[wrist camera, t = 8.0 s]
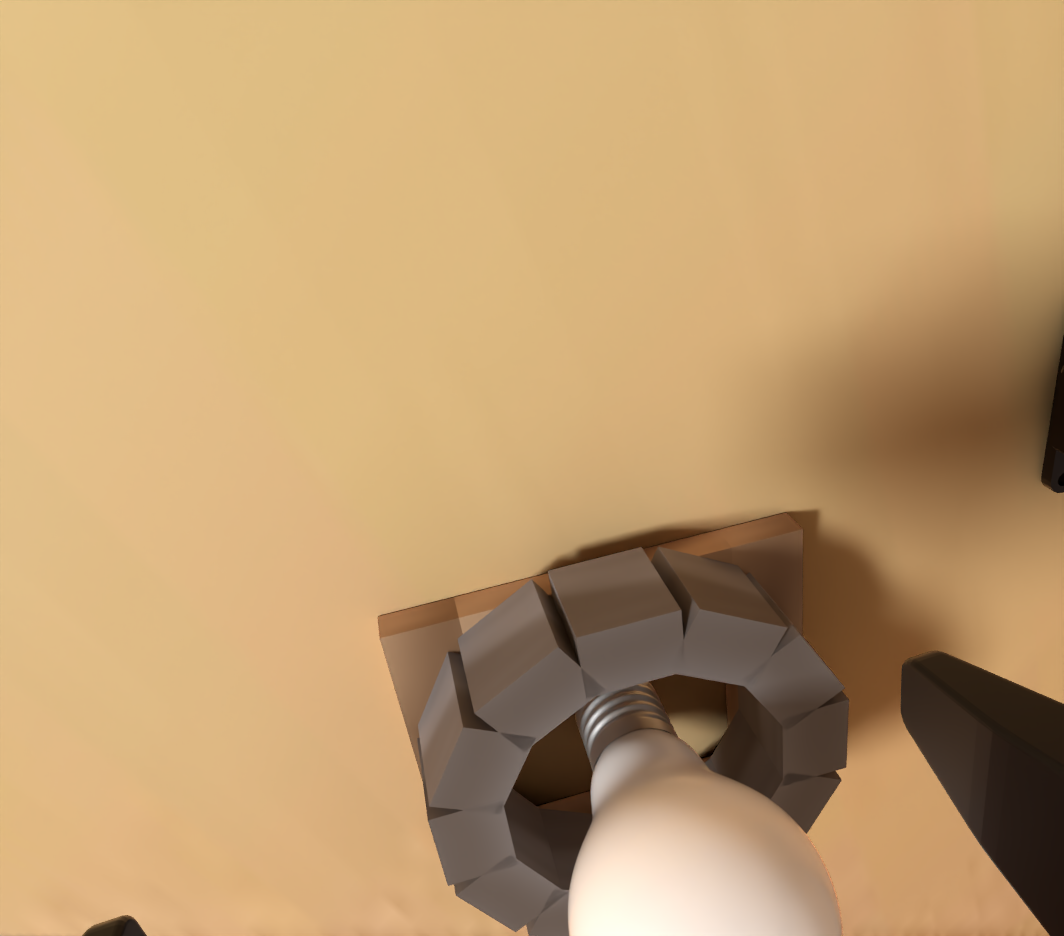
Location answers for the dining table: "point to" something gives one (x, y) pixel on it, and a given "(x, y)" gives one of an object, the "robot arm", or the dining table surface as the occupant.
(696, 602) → the grey stone fire pit
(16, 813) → the dining table surface
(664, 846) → the lightbulb
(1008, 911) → the dining table surface
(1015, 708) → the robot arm
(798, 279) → the dining table surface
